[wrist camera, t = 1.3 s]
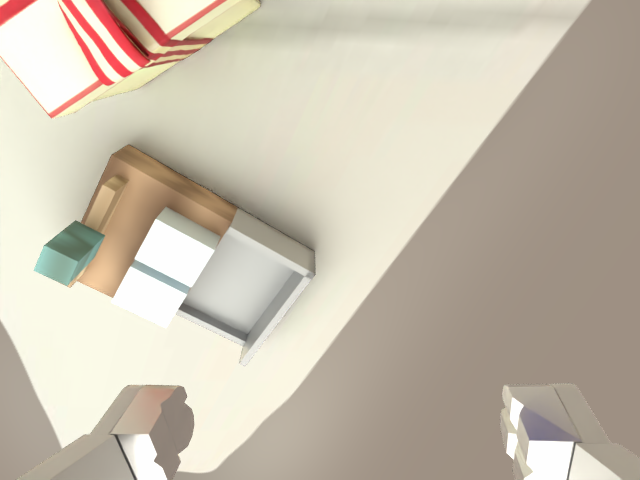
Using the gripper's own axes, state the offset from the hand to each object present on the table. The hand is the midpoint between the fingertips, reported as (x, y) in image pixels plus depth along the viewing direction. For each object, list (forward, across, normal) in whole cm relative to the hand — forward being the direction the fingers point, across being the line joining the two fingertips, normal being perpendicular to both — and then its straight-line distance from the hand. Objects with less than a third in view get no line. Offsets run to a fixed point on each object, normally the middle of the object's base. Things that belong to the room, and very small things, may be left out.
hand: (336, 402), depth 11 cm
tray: (+33, +15, +15) cm, 40 cm away
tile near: (+29, +19, +8) cm, 35 cm away
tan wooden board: (+32, +24, +8) cm, 41 cm away
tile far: (+28, +23, +12) cm, 38 cm away
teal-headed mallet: (+28, +26, +5) cm, 39 cm away
